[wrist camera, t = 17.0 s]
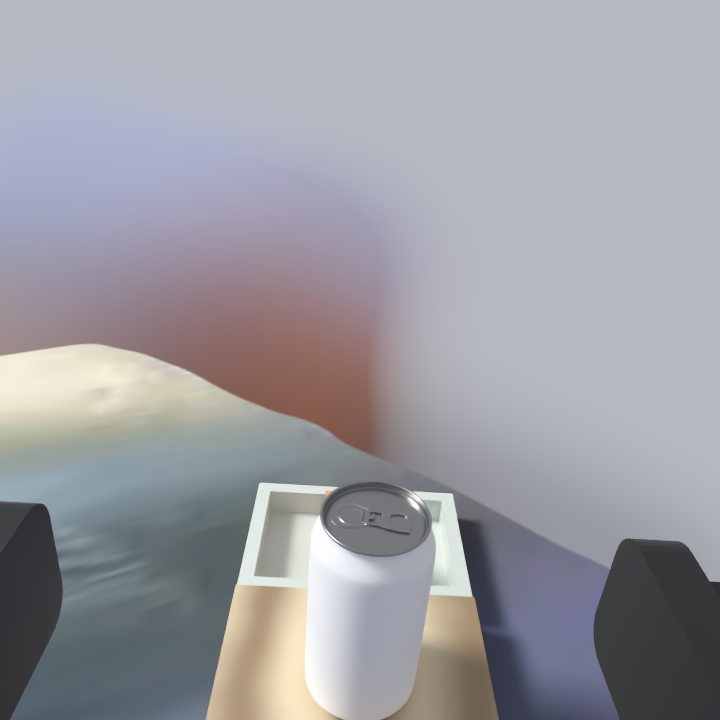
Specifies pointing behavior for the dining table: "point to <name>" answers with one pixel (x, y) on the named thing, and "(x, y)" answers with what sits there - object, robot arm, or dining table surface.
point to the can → (367, 598)
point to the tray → (294, 528)
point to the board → (287, 662)
